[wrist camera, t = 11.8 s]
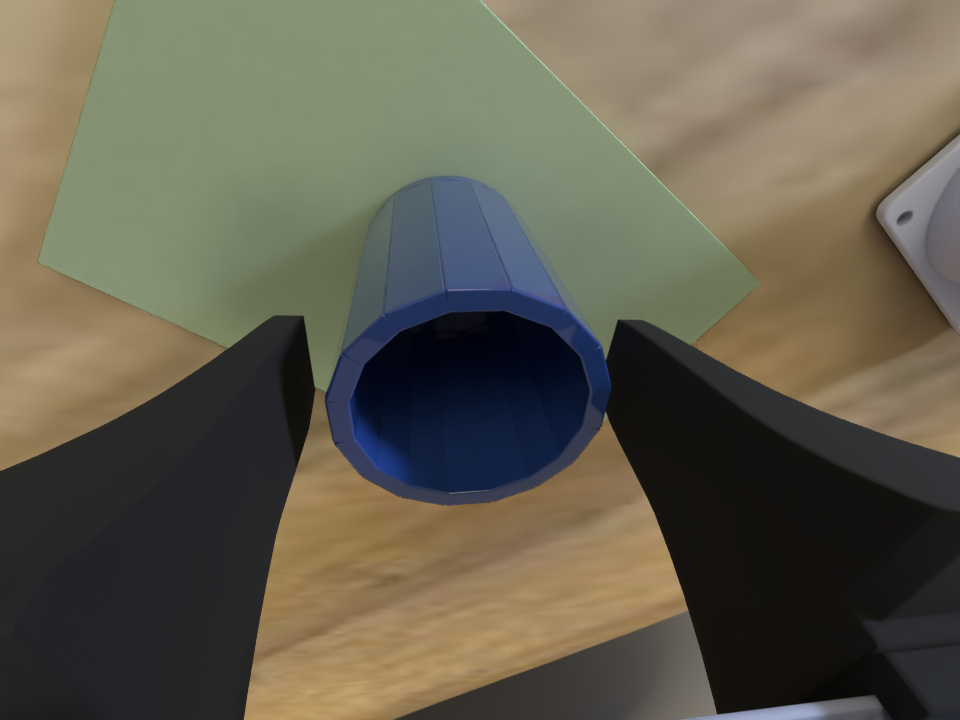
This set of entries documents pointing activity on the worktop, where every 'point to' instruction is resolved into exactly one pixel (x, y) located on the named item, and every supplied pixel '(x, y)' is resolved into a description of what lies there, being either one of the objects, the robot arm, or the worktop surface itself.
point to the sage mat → (350, 166)
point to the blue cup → (461, 352)
